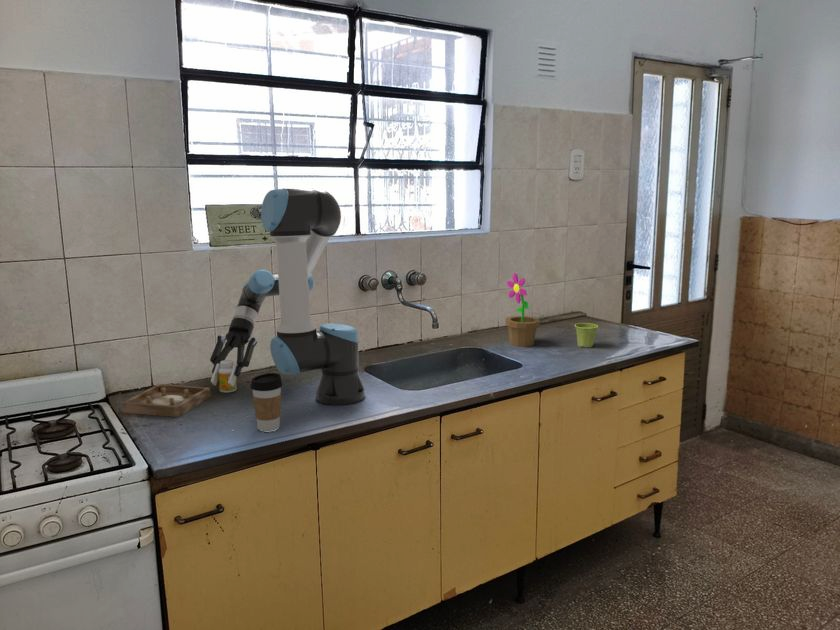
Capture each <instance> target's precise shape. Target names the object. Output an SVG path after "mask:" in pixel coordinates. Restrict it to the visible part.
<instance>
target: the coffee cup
mask: <svg viewBox="0 0 840 630" xmlns="http://www.w3.org/2000/svg"><path fill="white" fill-rule="evenodd" d="M282 387H283V381H282V377H281V374H280V373H275V372H268V373H263V374H259V375H256V376H254V377H252V378H251V383H250V389H251V390H252V399H253V401H252V402H253V406H254V407H253V409H254V413H255V414H254V415H255V419H256V426H257V430H258V429H259V430H262V431H271V430H275V429H277V428H279V427H281V424H280V423H281V422H280V421H281V408H282V407H281V405H282ZM279 429H280V428H279Z"/></svg>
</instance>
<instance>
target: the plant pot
mask: <svg viewBox="0 0 840 630" xmlns="http://www.w3.org/2000/svg"><path fill="white" fill-rule="evenodd" d="M574 327H575V331H576V340H577V346H578V347H580V348H582V347H583V348H586V349H587V348H592V347H593V346H594V342H595V337H596V334H597V330H598V328H599V324H595V323H589V322H578V323H575V324H574Z"/></svg>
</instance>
